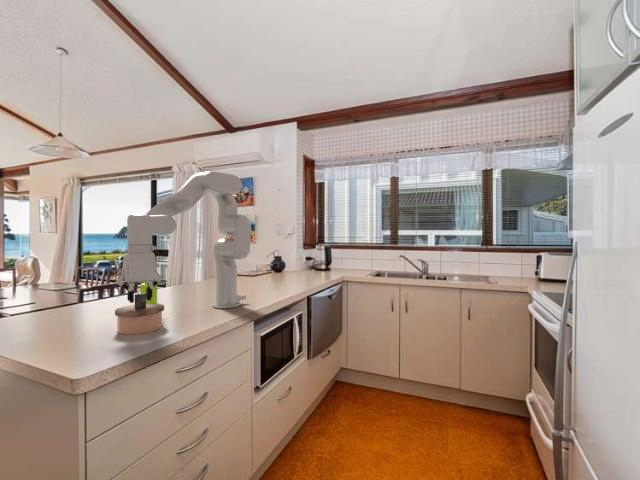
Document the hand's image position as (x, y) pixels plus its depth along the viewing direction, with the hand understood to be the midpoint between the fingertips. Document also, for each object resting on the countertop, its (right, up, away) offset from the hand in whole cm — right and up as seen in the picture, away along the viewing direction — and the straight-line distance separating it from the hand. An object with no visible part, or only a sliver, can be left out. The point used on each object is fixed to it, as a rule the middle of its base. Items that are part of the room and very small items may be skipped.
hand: (140, 300), depth 108 cm
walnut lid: (0, -4, 0) cm, 4 cm away
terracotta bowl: (0, -10, 0) cm, 10 cm away
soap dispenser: (-7, -10, +19) cm, 22 cm away
